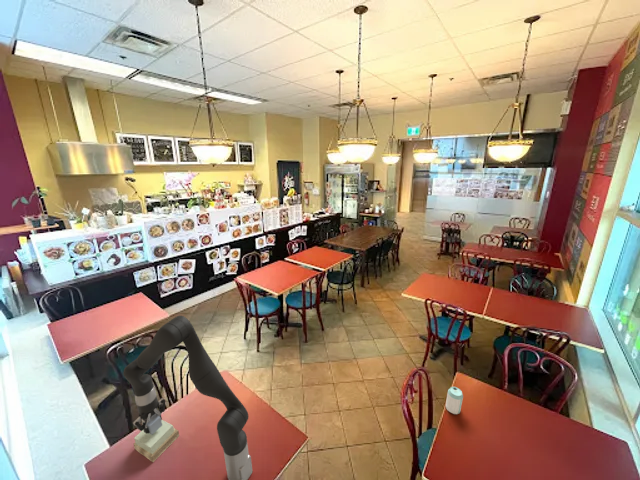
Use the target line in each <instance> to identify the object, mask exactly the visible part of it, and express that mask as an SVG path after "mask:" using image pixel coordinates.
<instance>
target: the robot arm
mask: <svg viewBox="0 0 640 480" xmlns="http://www.w3.org/2000/svg"><path fill="white" fill-rule="evenodd" d="M182 343H183V344H184V346H185V348H186V351H187V356H188V374H189V379H190V381H191V382H192V385H194V386H195V389H196V390H197V392H198V393H200V394H201V395H202V396H206V397H210V398H214V399H217V400H219V401H220V402H221V403H222V404H223V405H224V406H225V408H226V411H225V412H224V413H223V414H222V416H221V417H220V418H219V420H218V422H217V423H216V432H217V435H218V440H219V443H220V445H221V447H222V449H223V456H224V463H225V469H226V470H225V471H226V474H227V475H226V476H227V480H248V479H250V477H251V475H252V473H253V472H254V471H253V462H252V456H251V455H250V453H249V446H248V445H249V444H248V439H247V438H248V436H247V432H245V430H244V427H245V425H246V424H247V423H248V420H249V413H248V411H247V408H246V406H245V405H243V403H242V401H241V400H240V399H239V398H238V397H237V396H236V395H235V393H234V392H233V391H232V389H231V388H230V386H229V385H228V383H227V382H226V380H225V379H224V377H223V376H222V374H221V372H220V371H219V369H218V367H217V365H216V364H215V363H214V362H213V359H211V357H210V356H209V354H208V352H207V351H206V349H205V347H204V346H203V344H202V342H201V339H200V338H199V336H198V334H197V332H196V330H195V328H194V325H193V324H192V323H191V322H190V320H189V318H187V317H186V316H184V315H177V316H175V317H174V318H172V319H171V320H169V321H168V322H166V323H164V324H163V325H161V327H159V329H158V330H157V331H156V333H155V334H154V337H152V340H151V342H149V345H148V346H146V347H145V348H144V349H143V350H142V351H141V352H140V354H139V355H138V356H137V358H135V359H134V360H133V361H131V362H130V363H129V364H126V365H127V366H125V367H124V369H123V374H122V375H123V377H124V378H125V379H126V380H127V382H128V383H129V384H130V385H131V387H132V390H133V394H134V400H135V404H136V408H137V410H138V411H137V412H138V417H137V418H136V419H134V420H132V424H133V425H134V427H135V428H136V429H137V430H138V431H140V432H141V431H142V430H144V432H145V433H146V434H147V433H150V432H149V428H148V423H149V420H150V418H151V417H152V416H153V415H154V414H156V415H158V416H160V417H161V420H163V417H162V413H164V412H165V410H166V399H165V398H163V397H160V398H159V400H158V395H157V391H156V388H155V387H154V383H153V378H152V375H150V374H148V373H146V372H148V371H149V370H151V368H153V366H154V365H155V364H156V363H157V362H159V360H160V359H161V358H162V356H164V355H163V354H164V353H166V352H168V351H170V350H172V349H174V348H176V347H177V346H179V345H180V344H182Z"/></svg>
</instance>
